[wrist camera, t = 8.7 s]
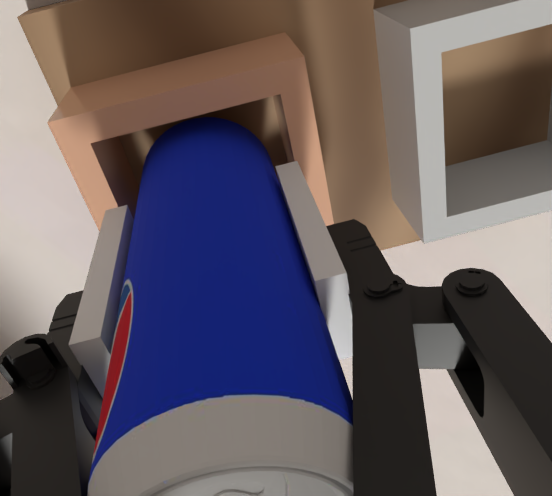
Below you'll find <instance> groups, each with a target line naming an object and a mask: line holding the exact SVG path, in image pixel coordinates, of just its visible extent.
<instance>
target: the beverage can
mask: <svg viewBox="0 0 552 496" xmlns="http://www.w3.org/2000/svg"><path fill="white" fill-rule="evenodd" d="M87 496H353V400H352V397H351V394H350V391H349V388H348V385H347V382H346V379H345V376H344V373H343V370H342V368H341V365H340V362H339V359H338V356H337V353H336V350H335V347H334V344H333V341H332V338H331V335H330V332H329V329H328V326H327V323H326V320H325V317H324V315H323V313H322V310H321V308H320V305H319V302H318V299H317V296H316V293H315V290H314V287H313V284H312V281H311V278H310V275H309V272H308V269H307V266H306V263H305V260H304V257H303V254H302V251H301V248H300V245H299V242H298V239H297V236H296V234H295V231H294V228H293V225H292V222H291V219H290V216H289V213H288V210H287V207H286V204H285V201H284V198H283V195H282V192H281V188H280V185H279V182H278V179H277V176H276V173H275V170H274V167H273V164H272V161H271V158H270V156H269V154H268V152H267V150H266V148H265V147H264V145H263V144H262V142H261V141H260V140H259V139H258V138H257V137H256V136H255V135H254V134H253V133H252V132H251V131H249V130H248V129H247V128H245V127H243V126H241V125H239V124H238V123H235V122H232V121H230V120H227V119H222V118H216V117H201V118H193V119H190V120H186V121H183V122H181V123H179V124H176V125H174V126H172V127H171V128H169V129H168V130H166V131H165V132H164V133H163V134H162V135H161V136H160V137H159V138H157V140H156V141H155V142H154V144H153V145H152V146H151V148H150V150H149V152H148V154H147V156H146V159H145V162H144V165H143V171H142V177H141V183H140V188H139V194H138V200H137V206H136V211H135V217H134V223H133V229H132V234H131V240H130V246H129V252H128V258H127V263H126V269H125V275H124V281H123V286H122V292H121V298H120V304H119V310H118V315H117V321H116V327H115V333H114V338H113V344H112V350H111V356H110V361H109V367H108V373H107V379H106V385H105V390H104V396H103V402H102V408H101V413H100V419H99V425H98V431H97V437H96V442H95V448H94V454H93V460H92V465H91V471H90V477H89V483H88V493H87Z"/></svg>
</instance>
